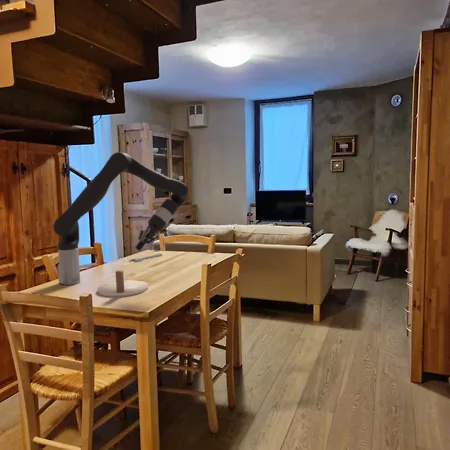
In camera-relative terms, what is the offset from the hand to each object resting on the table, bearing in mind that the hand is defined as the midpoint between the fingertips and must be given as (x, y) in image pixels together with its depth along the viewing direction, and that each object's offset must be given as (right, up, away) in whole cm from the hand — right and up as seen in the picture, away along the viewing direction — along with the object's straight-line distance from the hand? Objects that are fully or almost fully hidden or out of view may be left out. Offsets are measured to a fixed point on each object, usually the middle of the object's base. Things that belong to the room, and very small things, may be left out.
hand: (137, 249), depth 182 cm
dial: (-7, -18, +4) cm, 20 cm away
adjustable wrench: (-11, -11, +81) cm, 82 cm away
